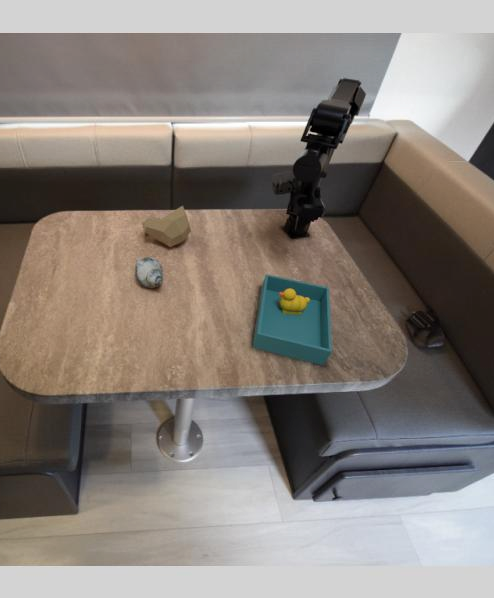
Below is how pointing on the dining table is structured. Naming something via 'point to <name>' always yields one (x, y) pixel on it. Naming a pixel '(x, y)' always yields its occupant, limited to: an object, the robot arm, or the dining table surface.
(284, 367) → the dining table surface
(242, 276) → the dining table surface
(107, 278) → the dining table surface
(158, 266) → the seashell
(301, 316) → the teal tray
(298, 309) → the duck
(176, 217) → the tan rock
